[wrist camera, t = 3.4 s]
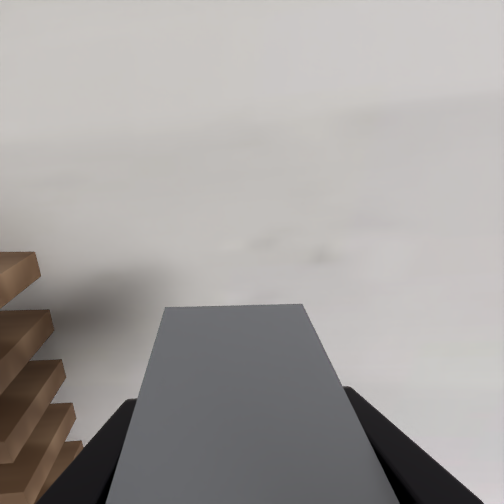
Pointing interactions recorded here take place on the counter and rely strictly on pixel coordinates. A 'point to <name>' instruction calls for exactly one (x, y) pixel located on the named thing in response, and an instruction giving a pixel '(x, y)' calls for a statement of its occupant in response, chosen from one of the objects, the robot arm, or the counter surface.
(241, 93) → the counter surface
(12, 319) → the domino
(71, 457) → the domino
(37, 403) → the domino
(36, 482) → the domino
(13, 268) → the domino
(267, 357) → the grey domino
